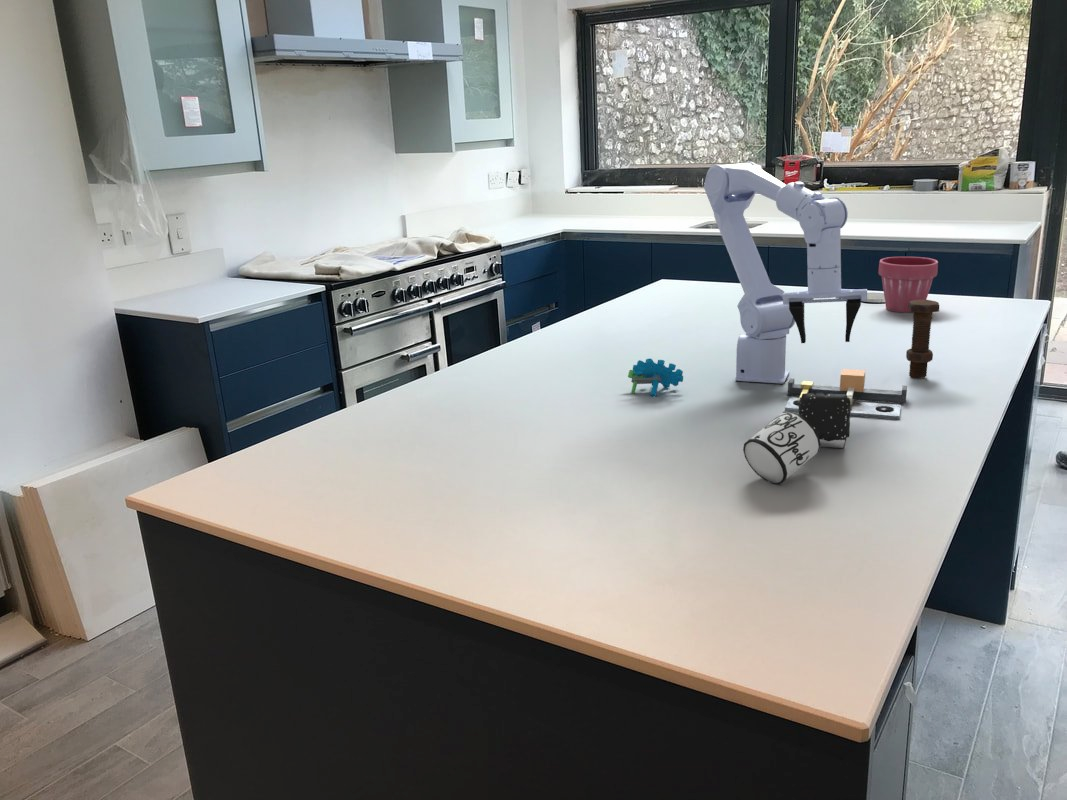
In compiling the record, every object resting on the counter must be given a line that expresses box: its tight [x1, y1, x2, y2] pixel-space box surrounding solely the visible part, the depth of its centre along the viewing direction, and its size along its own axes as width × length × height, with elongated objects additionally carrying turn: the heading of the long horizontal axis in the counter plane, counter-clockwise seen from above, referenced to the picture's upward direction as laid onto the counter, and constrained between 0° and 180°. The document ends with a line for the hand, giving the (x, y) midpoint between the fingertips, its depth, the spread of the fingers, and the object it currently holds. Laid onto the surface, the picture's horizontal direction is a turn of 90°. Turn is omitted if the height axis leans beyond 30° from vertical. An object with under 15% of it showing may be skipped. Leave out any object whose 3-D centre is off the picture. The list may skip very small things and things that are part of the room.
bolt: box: [905, 299, 940, 380], centre depth 170 cm, size 6×5×15 cm
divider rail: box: [787, 377, 908, 405], centre depth 160 cm, size 21×10×3 cm, turn 67°
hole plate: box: [784, 396, 902, 420], centre depth 156 cm, size 19×6×1 cm, turn 67°
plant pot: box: [878, 256, 939, 313], centre depth 229 cm, size 14×14×13 cm
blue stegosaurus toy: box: [627, 358, 684, 397], centre depth 171 cm, size 11×6×10 cm
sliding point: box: [839, 368, 866, 405], centre depth 159 cm, size 4×10×4 cm, turn 157°
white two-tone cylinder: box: [742, 393, 851, 485], centre depth 133 cm, size 25×10×10 cm, turn 140°
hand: (825, 341), depth 161 cm, fingers open, 7 cm apart
